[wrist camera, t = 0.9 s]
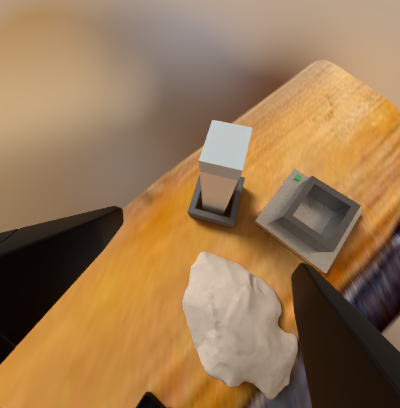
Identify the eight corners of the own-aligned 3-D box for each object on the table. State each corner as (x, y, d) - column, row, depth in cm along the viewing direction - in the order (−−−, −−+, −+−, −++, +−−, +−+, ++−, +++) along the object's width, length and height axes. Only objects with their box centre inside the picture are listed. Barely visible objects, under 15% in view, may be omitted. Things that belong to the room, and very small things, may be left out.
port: (320, 272, 20) (343, 276, 16) (253, 222, 22) (261, 216, 18) (355, 212, 22) (382, 205, 18) (290, 171, 24) (304, 158, 21)
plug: (223, 214, 22) (242, 170, 10) (202, 209, 23) (198, 160, 11) (228, 192, 23) (252, 127, 11) (209, 187, 24) (212, 119, 12)
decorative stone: (309, 337, 18) (223, 236, 23) (335, 350, 15) (228, 227, 20) (241, 426, 15) (160, 286, 20) (254, 468, 12) (152, 286, 17)
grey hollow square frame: (231, 227, 22) (234, 224, 19) (189, 216, 22) (187, 212, 20) (240, 185, 24) (244, 177, 21) (202, 176, 24) (202, 167, 22)
